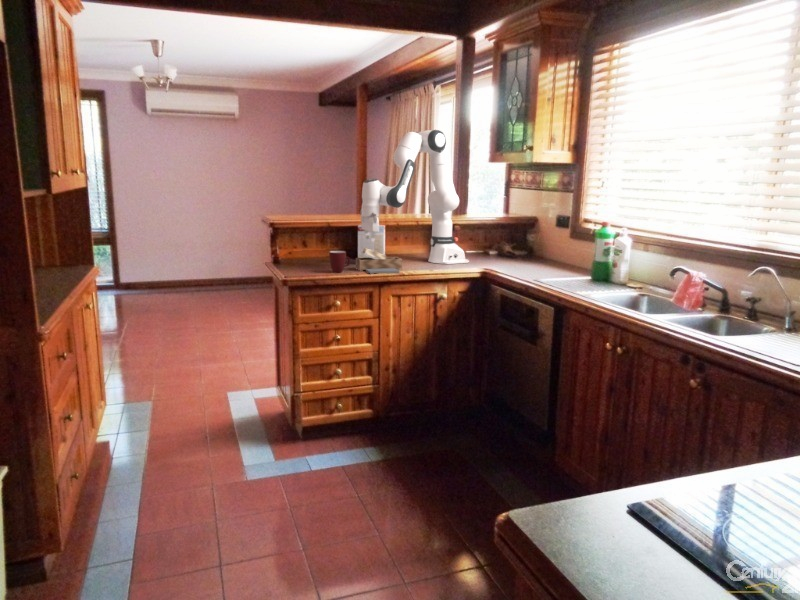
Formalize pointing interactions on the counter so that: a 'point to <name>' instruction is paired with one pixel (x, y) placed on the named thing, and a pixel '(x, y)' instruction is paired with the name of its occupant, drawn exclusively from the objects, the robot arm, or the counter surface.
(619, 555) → the counter surface
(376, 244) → the cracker box
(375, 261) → the tan patterned box
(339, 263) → the mug
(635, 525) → the counter surface
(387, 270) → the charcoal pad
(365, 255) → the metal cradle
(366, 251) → the birch bar
